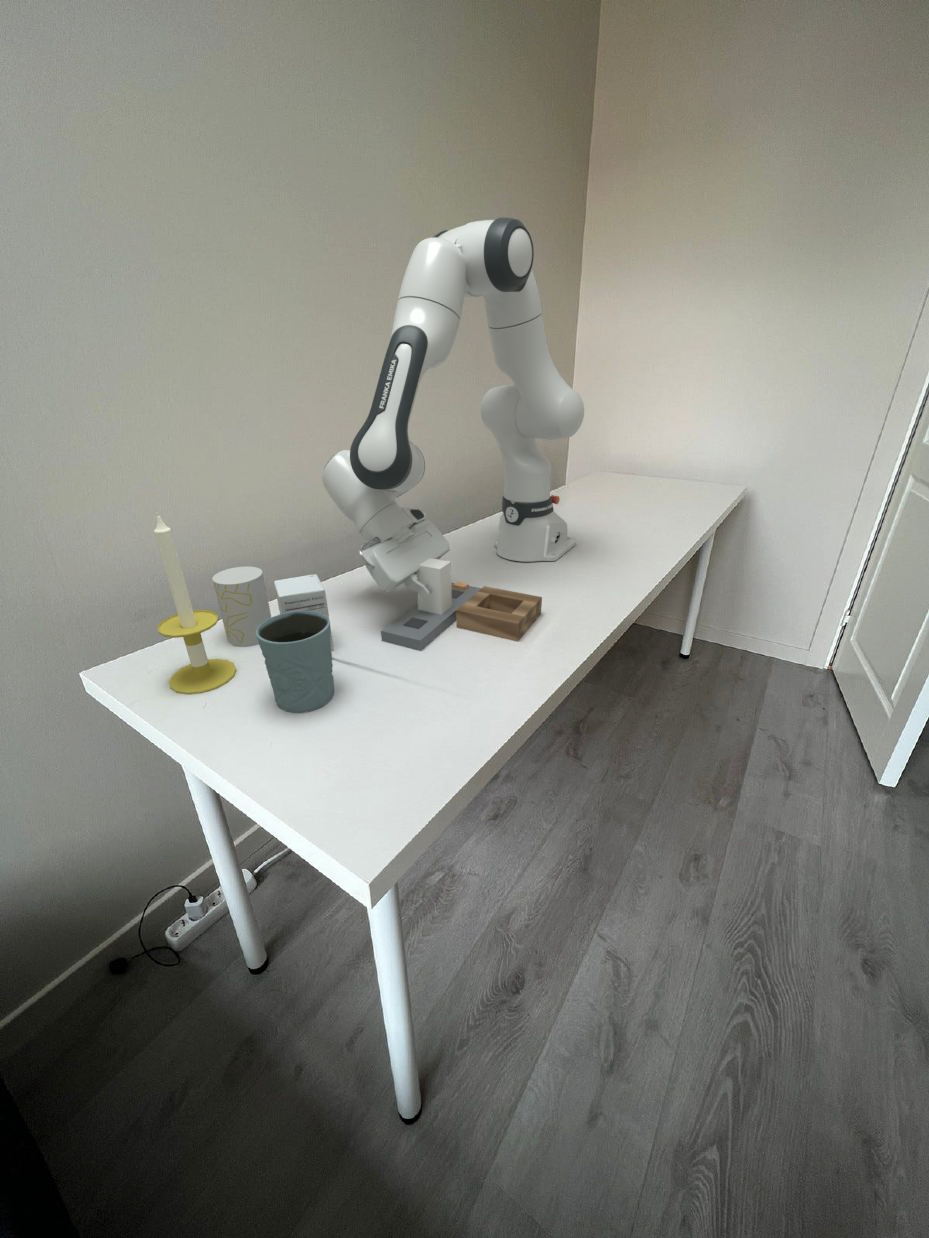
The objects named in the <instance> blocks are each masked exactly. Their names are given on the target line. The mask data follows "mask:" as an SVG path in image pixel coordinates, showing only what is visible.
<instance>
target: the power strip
mask: <svg viewBox="0 0 929 1238" xmlns="http://www.w3.org/2000/svg"><path fill="white" fill-rule="evenodd" d="M482 588H483V587H476V586H471V585H470V584H469V583H465V582H461V581H456V582H451V589H452V607H450V608H449V609H448V610H447V611H446V612H444V613H443V614H442V615H440V614H436V613H431V612H427V611H422V610H418V603H416V604H415V605H413V606H412V607H411V608H409V609H408V610H406V612H404V613H403V614H402V615H400V616H399V617H397V618H396V619H395V620H393V621H392V622H391V623H389V624H388V625H386V626H385V627H384V628H383V629H381V630H380V635H381V636H380V638H381V642H384V643H387V644H392V645H396V646H400V647H403V648H408V649H412V650H415V651H419V652H421V651H423V650H424V649H425V648H426V647H427V646H429V645H430V644H431V643H432V642H433V641H434V640H435V639H437V637H438V636H440V635H441V634H442V633H443V632H445V630H446V629H448V628H449V627H450V626H451V625H452V624H453V623H456V610H457V609H458V608H459V607H461V606H462V605H463V604H464V603H465V602H466V601H468V600H469V599H470V598H471V597H472V596H473V595H475V594H476V593H477V592H478V591H479V590H481V589H482Z"/></svg>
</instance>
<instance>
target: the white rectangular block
mask: <svg viewBox="0 0 929 1238" xmlns="http://www.w3.org/2000/svg"><path fill="white" fill-rule="evenodd" d="M419 566H420V570H418V571H417V572H416V577H417V578H418V579H417V581H419V582H420V583H422V584H423V585H428V586H429V587H430V589H431V590H432V593H431V594H430V595H429V596H428V597H426V598H425V599H423V598H422V597H421V596H420V595H419V594H418V592H416V593H417V604H418V610H422V611H427V612H431V613H436V614H440V615H442V614H443V613H444V612H446V611H447V610H448V609H449V608H450V607H452V589H451V583H452V562H451V560H450V561H449V560H443V559H440V560H438V559H433V558H430V559H428V560H426V561H425V562H423V563H422V564H420V565H419Z"/></svg>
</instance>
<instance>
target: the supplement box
mask: <svg viewBox="0 0 929 1238" xmlns="http://www.w3.org/2000/svg"><path fill="white" fill-rule="evenodd" d="M273 583H274V590H275V594H276V600H277V605H278V610H279V615H280V614H283V613H288V612H294V611H314V612H318V613H322V614H324V615H325V616H327V617H328V618H329V619H330V615H329V608H328V599H327V595H326V589H325V587H324V586H323V584H322V582H321V580H320V577H319V576H318V574H314V573H313V574H307V575H301V576H296V577H290V578H289V577H288V578H285V579H284V578H283V579H278V580H274V581H273ZM330 632H331V633H332V629H331V627H330ZM333 642H334V641H333V635H332V634H331V638H330V643H331V652H333V651H335V649H334V643H333Z"/></svg>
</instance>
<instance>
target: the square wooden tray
mask: <svg viewBox="0 0 929 1238" xmlns="http://www.w3.org/2000/svg"><path fill="white" fill-rule="evenodd" d="M481 588H482V589H481V590H479V591H478V592H477V593H476V594H475V595H473V596H472V597H471V598H470V599H469V600H468V601H466V602H465V603H464V604H463V605H462V606H461V607H459V608H458V609H457V610H456V621H455V623H456V629H461V630H465V631H469V632H475V633H480V634H483V635H487V636H491V637H496V638H500V639H504V640H507V641H513V642H517V643H518V642H519V641H520V639H521V638H522V637H523V636H524V635H525V633H526V632H527V631H528V630H529V629H530V627H531V626H532V625H534V623H535V622H536V620H537V619H538V618H539V617H540V616H541V615H542V604H543V603H542V602H543V596H538V595H533V594H527V593H522V592H518V591H517V592H516V591H512V590H509V589H508V590H507V589H502V588H495V587H491V586H486V585H485V586H483V587H481Z"/></svg>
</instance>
